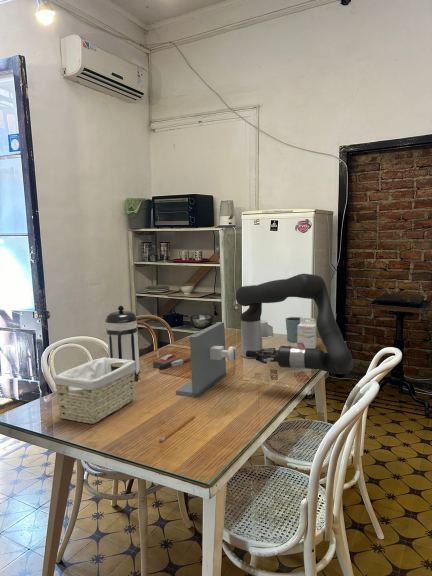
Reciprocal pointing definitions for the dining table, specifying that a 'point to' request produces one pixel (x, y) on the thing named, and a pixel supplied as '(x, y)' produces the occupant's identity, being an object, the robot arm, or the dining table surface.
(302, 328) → the ink cartridge box
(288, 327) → the grey-green cup
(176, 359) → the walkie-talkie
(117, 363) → the storage basket
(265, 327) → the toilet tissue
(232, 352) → the knob
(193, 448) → the dining table surface
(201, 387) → the knob panel
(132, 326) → the coffee press
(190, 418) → the pencil
